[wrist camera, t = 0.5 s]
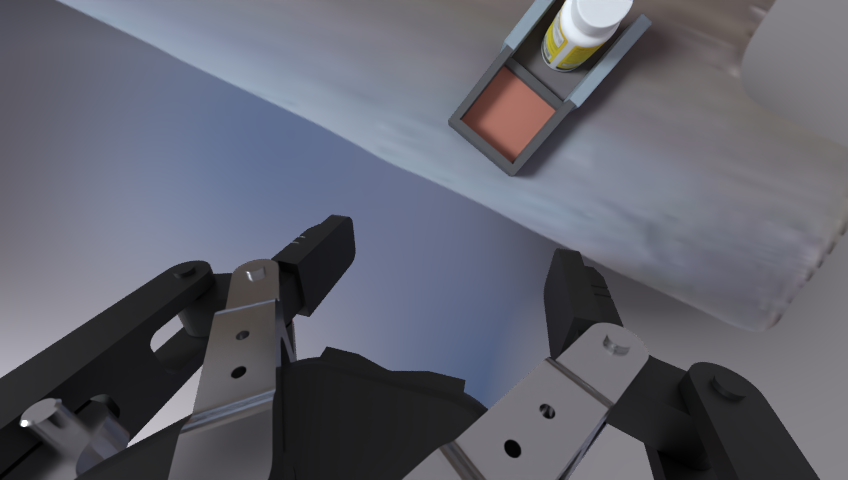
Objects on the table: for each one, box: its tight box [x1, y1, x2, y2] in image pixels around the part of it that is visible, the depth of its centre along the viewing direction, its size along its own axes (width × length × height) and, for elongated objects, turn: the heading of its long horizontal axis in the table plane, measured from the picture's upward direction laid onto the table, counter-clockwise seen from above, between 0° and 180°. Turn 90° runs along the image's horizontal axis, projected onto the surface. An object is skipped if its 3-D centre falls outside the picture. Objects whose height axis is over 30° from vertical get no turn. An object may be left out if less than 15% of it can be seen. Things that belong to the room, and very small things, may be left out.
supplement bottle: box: [541, 0, 633, 72], centre depth 26 cm, size 5×5×8 cm
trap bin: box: [448, 45, 575, 176], centre depth 31 cm, size 9×9×2 cm
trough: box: [500, 0, 652, 112], centre depth 29 cm, size 9×9×2 cm
